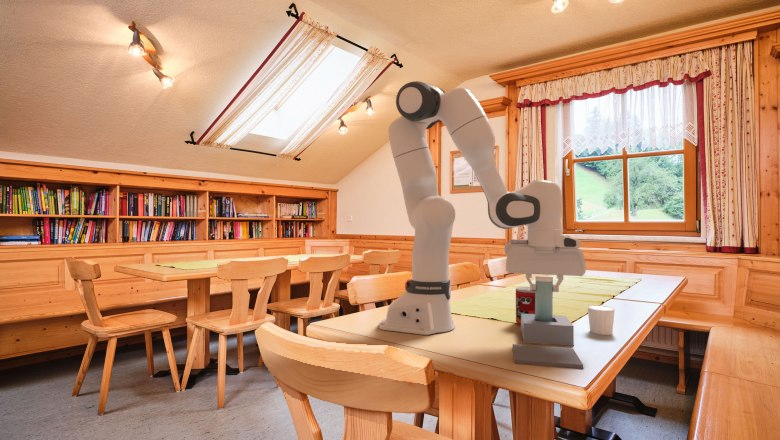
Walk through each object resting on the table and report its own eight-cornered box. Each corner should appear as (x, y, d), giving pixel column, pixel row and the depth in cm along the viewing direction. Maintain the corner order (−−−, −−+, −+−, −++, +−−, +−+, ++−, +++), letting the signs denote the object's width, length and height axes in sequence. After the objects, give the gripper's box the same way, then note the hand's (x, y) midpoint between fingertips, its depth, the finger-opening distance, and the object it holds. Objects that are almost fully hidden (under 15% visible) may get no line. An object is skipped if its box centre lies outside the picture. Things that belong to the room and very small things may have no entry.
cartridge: (535, 322, 109) (536, 277, 110) (534, 318, 114) (534, 275, 114) (553, 323, 108) (553, 278, 108) (551, 320, 113) (551, 276, 113)
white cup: (583, 329, 120) (583, 305, 120) (607, 329, 120) (607, 305, 120) (594, 335, 113) (594, 310, 113) (619, 335, 113) (619, 310, 113)
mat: (514, 363, 91) (514, 359, 91) (512, 347, 102) (512, 344, 102) (583, 368, 87) (583, 364, 87) (573, 351, 99) (572, 348, 99)
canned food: (511, 321, 129) (511, 286, 130) (536, 320, 130) (535, 286, 130) (522, 327, 122) (522, 290, 122) (547, 326, 123) (547, 290, 123)
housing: (523, 342, 107) (523, 323, 107) (521, 330, 118) (520, 313, 118) (573, 345, 104) (573, 326, 104) (565, 333, 115) (565, 315, 115)
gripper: (505, 239, 111) (504, 290, 111) (587, 241, 106) (586, 295, 106) (504, 238, 117) (504, 287, 117) (582, 240, 112) (581, 291, 112)
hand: (544, 291), depth 111 cm, fingers closed on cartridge, 4 cm apart
